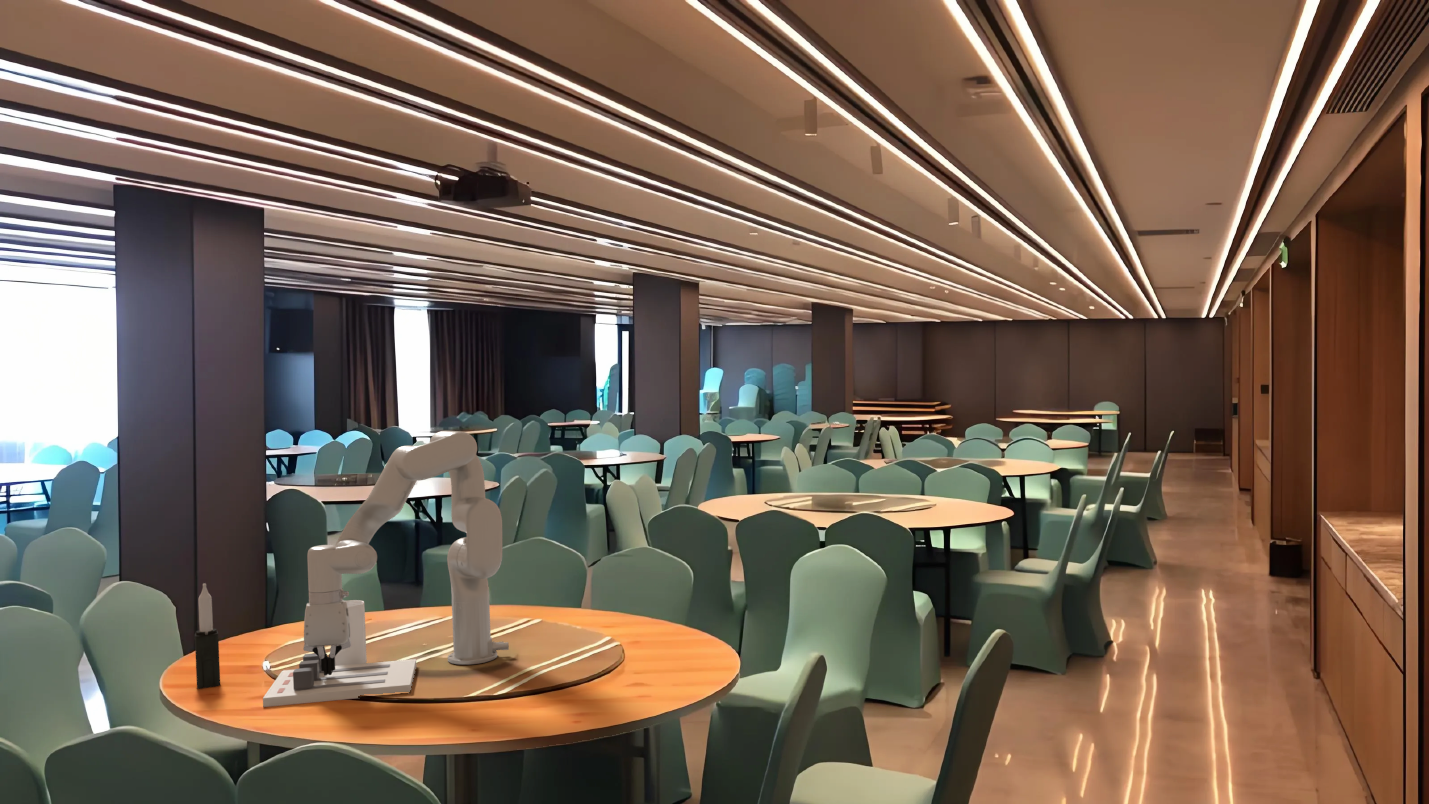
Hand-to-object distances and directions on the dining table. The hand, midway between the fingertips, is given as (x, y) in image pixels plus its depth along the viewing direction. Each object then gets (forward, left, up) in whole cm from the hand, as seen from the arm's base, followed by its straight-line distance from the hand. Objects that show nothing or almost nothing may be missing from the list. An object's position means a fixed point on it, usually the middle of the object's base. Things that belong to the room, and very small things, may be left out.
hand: (328, 673), depth 251 cm
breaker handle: (+4, 0, -1) cm, 4 cm away
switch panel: (-4, 0, -3) cm, 5 cm away
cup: (-3, -20, -4) cm, 21 cm away
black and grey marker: (+29, -12, -4) cm, 32 cm away
